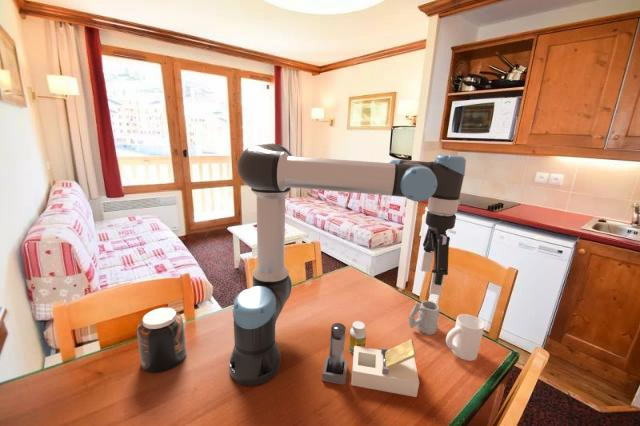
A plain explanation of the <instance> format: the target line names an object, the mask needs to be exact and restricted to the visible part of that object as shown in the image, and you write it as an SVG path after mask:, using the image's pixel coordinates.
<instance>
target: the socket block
mask: <svg viewBox="0 0 640 426" xmlns="http://www.w3.org/2000/svg"><path fill="white" fill-rule="evenodd" d="M387 350H388V347H386V346H382V347H381V349H377V348H371V347H366V346H365V347H359V346H354V354H352V356H353V357H352V370H351V379H350V380H351V384H350V386H353V387H354V386H355V387H360V388H365V389H371V390H376V391H380V392H381V391H382V392H387V393H392V394H398V395H403V396H408V397H414V398H418V397H417V396H418V391H419V385H420V380H419V376H418V370H417V365H416V359H415V357H413V358H411V359H409V360H407V361H404V362H402V363H400V364H398V365H396V366H393V367H391V368H389V367H384V366H383V352H385V351H387Z"/></svg>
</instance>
